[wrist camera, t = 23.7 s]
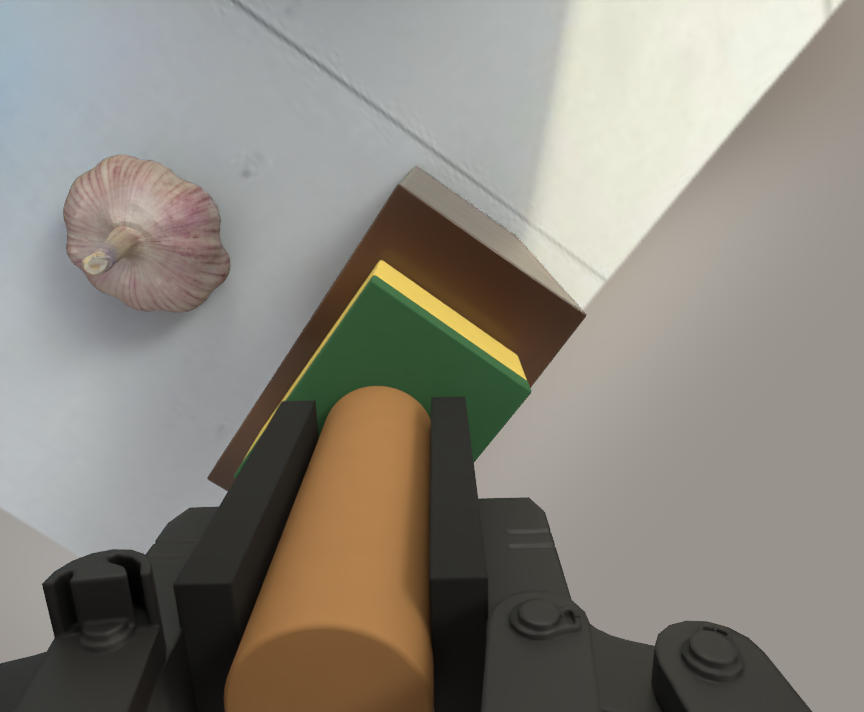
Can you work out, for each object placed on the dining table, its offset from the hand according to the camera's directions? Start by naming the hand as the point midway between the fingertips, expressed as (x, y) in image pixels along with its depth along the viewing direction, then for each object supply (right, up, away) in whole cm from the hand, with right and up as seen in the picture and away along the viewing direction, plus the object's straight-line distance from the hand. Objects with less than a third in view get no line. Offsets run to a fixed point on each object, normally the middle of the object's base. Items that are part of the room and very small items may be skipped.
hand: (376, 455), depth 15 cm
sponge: (0, +1, +3) cm, 3 cm away
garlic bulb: (-12, +8, +18) cm, 23 cm away
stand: (0, +6, +19) cm, 20 cm away
